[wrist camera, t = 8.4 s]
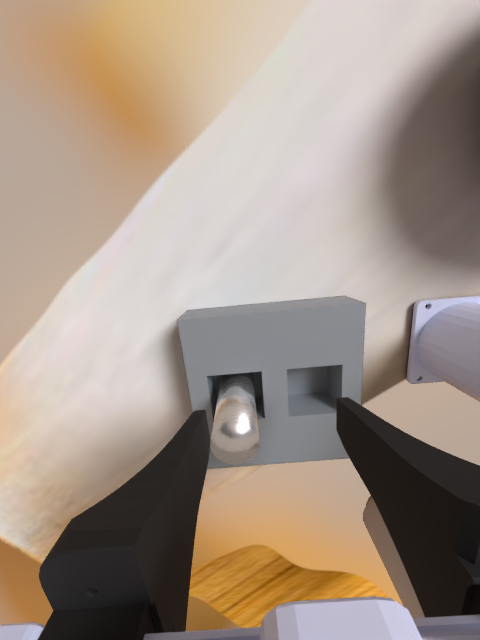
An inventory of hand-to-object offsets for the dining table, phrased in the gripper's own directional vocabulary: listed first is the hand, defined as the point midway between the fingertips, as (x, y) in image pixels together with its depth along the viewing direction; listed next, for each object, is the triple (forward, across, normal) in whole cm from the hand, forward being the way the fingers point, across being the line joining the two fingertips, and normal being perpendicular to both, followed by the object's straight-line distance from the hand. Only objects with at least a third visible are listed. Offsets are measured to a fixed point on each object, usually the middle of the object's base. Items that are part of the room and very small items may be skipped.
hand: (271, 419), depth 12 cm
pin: (+9, +2, +2) cm, 9 cm away
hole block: (+9, -1, +2) cm, 10 cm away
